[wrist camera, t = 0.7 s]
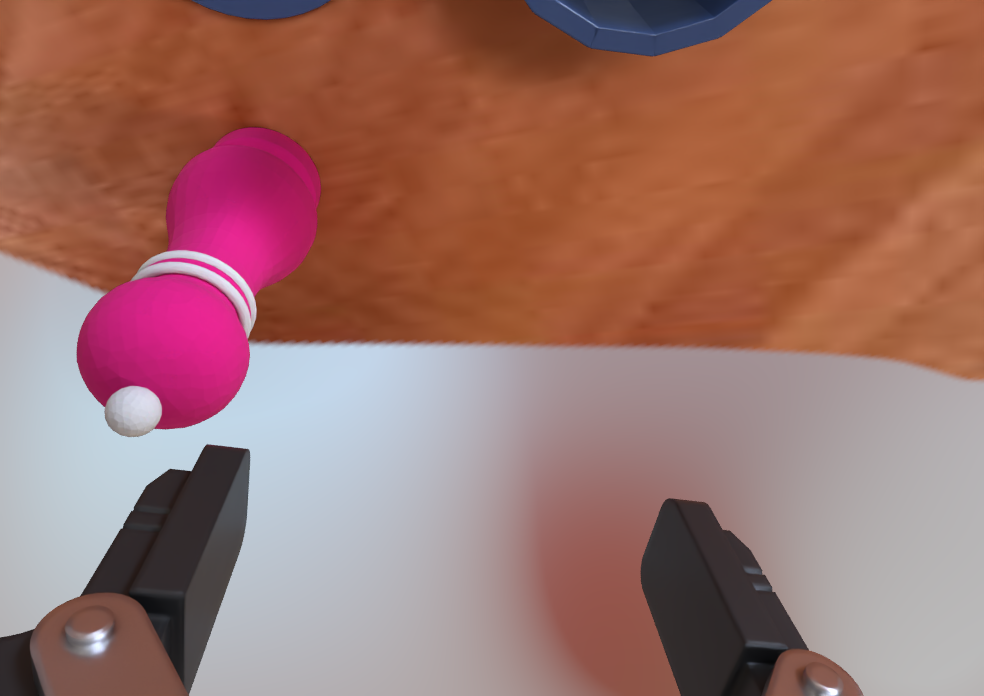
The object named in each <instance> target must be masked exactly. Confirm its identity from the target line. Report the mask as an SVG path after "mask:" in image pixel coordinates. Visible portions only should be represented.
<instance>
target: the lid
mask: <svg viewBox="0 0 984 696" xmlns="http://www.w3.org/2000/svg"><path fill="white" fill-rule="evenodd" d="M192 1H194V2H196V3H198V4H200V5H202V6H205V7H207V8H209V9H212V10H215V11H218V12H221V13H224V14H227V15H232V16H237V17H242V18H247V19H263V20H268V19H280V18H287V17H292V16H296V15H300V14H304V13H306V12H309V11H311V10H314V9H316V8H318V7H320V6H322V5H324V4H325V3H327V2H329V1H330V0H192Z"/></svg>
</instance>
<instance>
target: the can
mask: <svg viewBox="0 0 984 696" xmlns="http://www.w3.org/2000/svg"><path fill="white" fill-rule="evenodd" d="M770 1H772V0H525V2H526V3H527V5H528V6H529V8H530V9H531V10H532V12H534V13H535V14H536V15H537V16H539V17H541V18H542V19H544V20H545V21H547V22H548V23H550V24H552V25H553V26H555V27H556V28H558V29H560V30H561V31H563V32H564V33H566V34H568V35H569V36H571V37H572V38H574V39H576V40H577V41H579V42H580V43H582V44H583V45H585V46H587V47H590V48H591V49H599V50H607V51H614V52H622V53H630V54H637V55H645V56H657V55H661V54H664V53H668V52H671V51H675V50H679V49H682V48H686V47H689V46H693V45H696V44H700V43H703V42H707V41H710V40H714V39H717V38H719V37H722V36H723V35H725V34H726V33H727V32H729V31H730V30H732V29H733V28H734V27H736V26H737V25H738V24H740V23H741V22H743V21H744V20H745V19H747V18H748V17H750V16H751V15H752V14H754V13H755V12H757V11H758V10H759V9H761V8H762V7H763V6H765V5H766V4H768V3H769V2H770Z"/></svg>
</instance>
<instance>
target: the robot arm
mask: <svg viewBox="0 0 984 696" xmlns="http://www.w3.org/2000/svg"><path fill="white" fill-rule="evenodd" d="M249 470H250V451H249V449H243V448H234V447H225V446H217V445H206V446H205V447H204V449H203V450H202V452H201V454H200V456H199V458H198V460H197V462H196V464H195V466H194V468H193V470H192V471H185V470H175V469H169V470H168V471H167V472H165V473H164V474H162V475H161V476H159V477H158V478H157V479H155V480H154V481H153V482H151V483H150V484H148V485H147V486H146V488H145V490H144V491H143V493H142V494H141V496H140V498H139V499H138V501H137V503H136V505H135V506H134V510H133V511H131V513H130V514H129V516H128V518H127V520H126V521H125V523H124V526H123V529H121V530H120V531H119V533H118V534H117V536H116V538H115V539H114V541H113V543H112V545H111V546H110V548H109V549H108V551H107V553H106V554H105V556H104V558H103V559H102V561H101V563H100V564H99V566H98V568H97V570H96V571H95V573H94V574H93V576H92V578H91V579H90V581H89V583H88V584H87V586H86V588H85V589H84V591H83V593H82V594H81V596H80V597H77V598H74V599H72V600H69V601H67V602H65V603H64V604H61V605H60V606H58V607H56V608H55V609H53V610H52V611H51V612H49V613H48V614H47V615H46V616H45V617H44V618H43V619H42V620H41V621H40V622H39V624H38V625H37V626H36V628H35V629H33V630H30V631H27V632H24V633H21V634H16V635H12V636H7V637H1V638H0V696H189V693H190V690H191V687H192V684H193V682H194V679H195V676H196V673H197V670H198V667H199V665H200V662H201V659H202V656H203V653H204V651H205V648H206V645H207V642H208V639H209V637H210V634H211V631H212V628H213V625H214V622H215V619H216V616H217V614H218V611H219V608H220V605H221V603H222V600H223V597H224V594H225V592H226V589H227V586H228V583H229V580H230V577H231V575H232V572H233V569H234V566H235V563H236V561H237V558H238V555H239V552H240V549H241V546H242V542H243V537H244V533H245V526H246V519H247V505H248V487H249ZM641 584H642V589H643V592H644V594H645V597H646V600H647V603H648V606H649V608H650V611H651V614H652V617H653V619H654V622H655V625H656V628H657V630H658V633H659V636H660V639H661V642H662V644H663V647H664V650H665V653H666V655H667V658H668V661H669V664H670V666H671V669H672V672H673V675H674V677H675V680H676V683H677V686H678V689H679V691H680V694H681V696H863V693H862V691H861V690H860V688H859V686H858V685H857V684H856V682H855V681H854V680H853V678H852V677H851V676H850V675H849V674H848V673H847V672H846V671H844V670H843V669H842V668H841V667H840V666H839V665H837V664H836V663H834V662H833V661H831V660H830V659H828V658H826V657H824V656H822V655H820V654H818V653H815V652H812V651H809V649H808V648H807V646H806V644H805V643H804V641H803V639H802V638H801V636H800V634H799V632H798V631H797V629H796V627H795V626H794V624H793V622H792V621H791V619H790V617H789V615H788V614H787V612H786V610H785V609H784V607H783V605H782V603H781V602H780V600H779V598H778V597H777V595H776V593H775V592H772V586H771V585H770V583H769V581H768V580H767V578H766V576H765V575H762V569H761V568H760V566H759V564H758V562H757V561H756V559H755V557H754V556H753V554H752V552H751V551H750V550H749V548H748V547H746V546H745V545H744V544H743V543H742V542H741V541H740V540H739V539H738V538H737V537H736V536H735V535H734V534H733V533H732V532H731V531H727V530H722V528H721V526H720V524H719V523H718V521H717V519H716V517H715V516H714V514H713V512H712V510H711V508H710V507H709V505H708V504H706V503H704V502H697V501H687V500H679V499H667V500H665V502H664V503H663V505H662V507H661V509H660V512H659V515H658V517H657V520H656V523H655V526H654V528H653V531H652V534H651V537H650V539H649V542H648V545H647V547H646V550H645V553H644V555H643V559H642V564H641Z"/></svg>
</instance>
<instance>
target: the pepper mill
mask: <svg viewBox="0 0 984 696" xmlns="http://www.w3.org/2000/svg"><path fill="white" fill-rule="evenodd" d="M320 194H321V184H320V178H319V174H318V171H317V169H316V167H315V165H314V163H313V161H312V159H311V158H310V157H309V155H308V154H307V153H306V152H305V150H304V149H303V148H302V147H301V146H299V145H298V144H297V143H296V142H294V141H293V140H292V139H290V138H289V137H287V136H285V135H283V134H281V133H279V132H276V131H273V130H269V129H265V128H257V127H249V128H242V129H238V130H235V131H232V132H230V133H228V134H227V135H225V136H224V137H222V138H221V139H220V140H219V141H218V142H217V143H216V144H215V146H214V147H213V148H211V149H209V150H207V151H204V152H202V153H200V154H198V155H197V156H195V157H194V158H192V159H191V160H190V161H189V162H188V163H187V164H186V165H185V166H184V167H183V169H182V170H181V172H180V173H179V175H178V177H177V178H176V180H175V182H174V184H173V186H172V188H171V191H170V193H169V198H168V204H167V210H166V223H167V230H168V236H169V245H168V249H167V251H166V252H164V253H161V254H158V255H156V256H154V257H152V258H150V259H149V260H148V261H146V262H145V263H144V264H143V265H142V266H141V267H140V269H139V270H138V272H137V274H136V275H135V276H134V277H133V278H132V280H131V281H130V282H126V283H124V284H121V285H119V286H117V287H116V288H114V289H113V290H112V291H110V292H109V293H107V294H106V295H104V296H103V297H102V298H101V299H100V300H99V301H98V302H97V303H96V304H95V306H94V307H93V308H92V309H91V311H90V312H89V313H88V315H87V317H86V318H85V321H84V323H83V325H82V327H81V330H80V334H79V338H78V342H77V363H78V367H79V370H80V373H81V376H82V378H83V380H84V382H85V384H86V386H87V388H88V389H89V391H90V392H91V393H92V394H93V395H94V397H95V398H96V399H97V400H98V401H99V402H100V403H101V404H102V405H103V406H104V407H105V419H106V421H107V423H108V425H109V427H110V428H111V429H112V430H113V431H115V432H117V433H118V434H120V435H122V436H127V437H136V436H137V437H138V436H142V435H145V434H147V433H149V432H150V431H151V430H153V429H175V428H185V427H188V426H192V425H195V424H198V423H200V422H202V421H205V420H206V419H209V418H210V417H212V416H214V415H216V414H217V413H218V412H220V411H221V410H222V409H224V408H225V407H226V406H227V405H228V403H229V402H230V401H231V400H232V399H233V398H234V397H235V395H236V394H237V392H238V391H239V389H240V387H241V385H242V383H243V381H244V379H245V377H246V373H247V370H248V366H249V358H250V352H249V343H248V340H247V339H248V337H249V334H250V332H251V330H252V328H253V326H254V323H255V319H256V303H255V299H254V297H255V295H256V294H257V292H258V291H259V290H260V289H262V288H264V287H267V286H269V285H272V284H274V283H276V282H278V281H280V280H282V279H283V278H285V277H286V276H287V275H289V274H290V273H291V272H292V271H294V270H295V269H296V268H297V267H298V266H299V265H300V264H301V263H302V262H303V260H304V258H305V257H306V255H307V253H308V251H309V250H310V248H311V246H312V244H313V242H314V239H315V236H316V230H317V212H316V208H317V206H318V203H319V200H320Z"/></svg>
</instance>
